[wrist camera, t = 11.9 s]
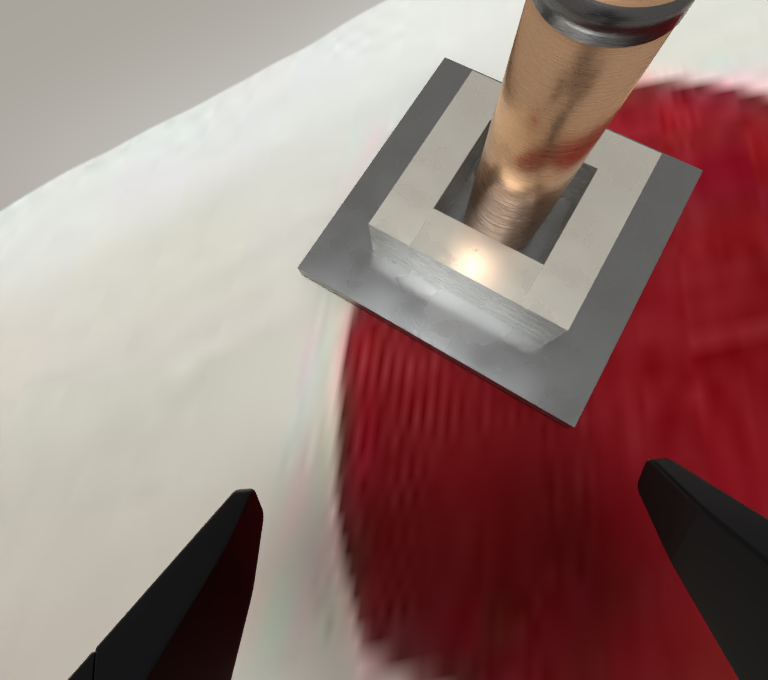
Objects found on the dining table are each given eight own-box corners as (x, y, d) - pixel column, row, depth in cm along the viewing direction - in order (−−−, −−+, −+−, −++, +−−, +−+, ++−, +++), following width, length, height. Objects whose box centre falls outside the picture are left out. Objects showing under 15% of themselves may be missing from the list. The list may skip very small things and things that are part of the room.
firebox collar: (690, 180, 24) (745, 133, 20) (566, 427, 21) (603, 427, 17) (443, 70, 27) (450, 10, 23) (301, 274, 24) (282, 244, 20)
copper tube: (553, 234, 23) (775, -58, 9) (486, 265, 23) (613, 12, 9) (515, 176, 24) (664, -164, 10) (450, 205, 24) (516, -104, 10)
